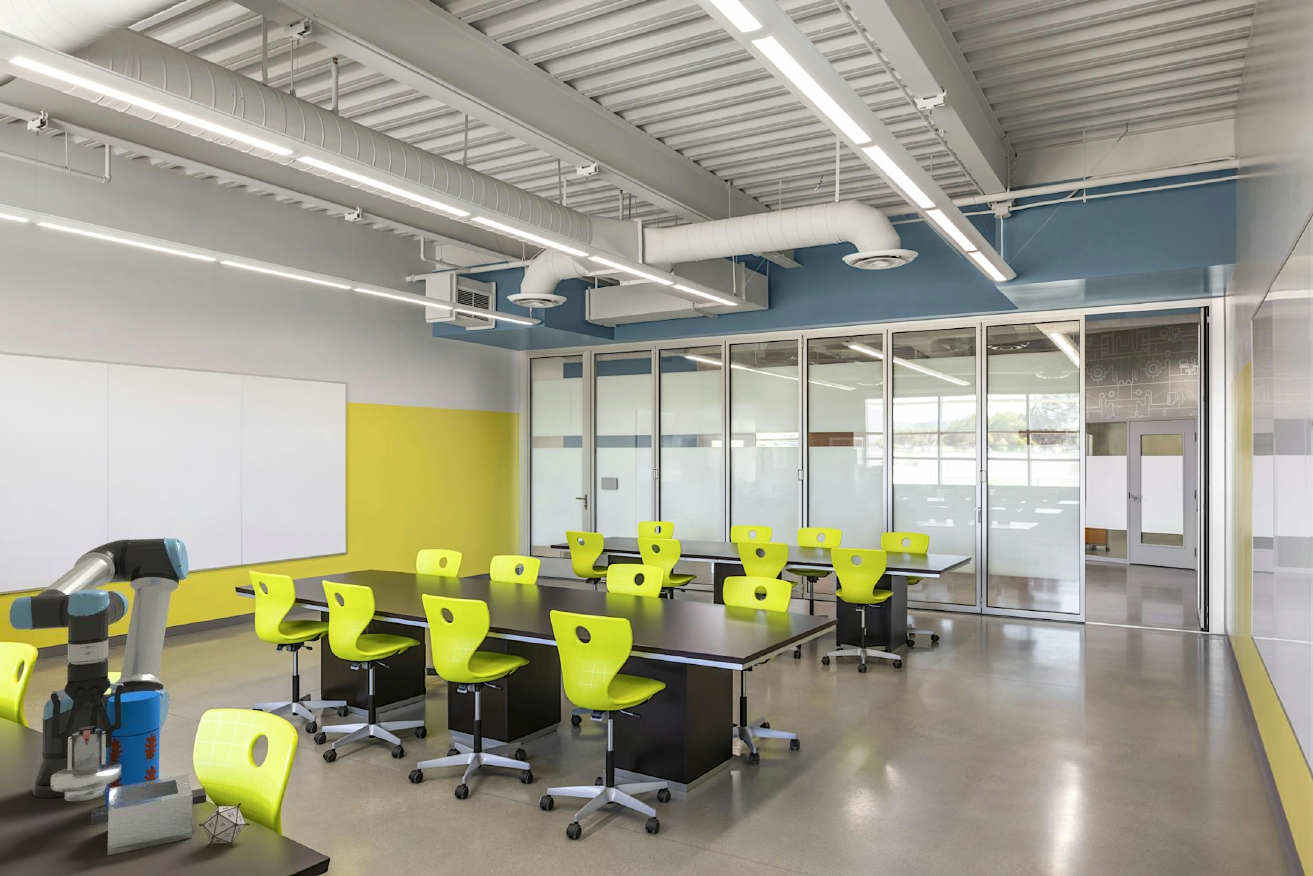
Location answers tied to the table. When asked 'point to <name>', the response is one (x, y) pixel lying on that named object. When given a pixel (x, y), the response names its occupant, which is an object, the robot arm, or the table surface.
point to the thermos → (135, 738)
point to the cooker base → (149, 813)
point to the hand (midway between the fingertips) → (86, 765)
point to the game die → (224, 824)
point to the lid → (86, 768)
